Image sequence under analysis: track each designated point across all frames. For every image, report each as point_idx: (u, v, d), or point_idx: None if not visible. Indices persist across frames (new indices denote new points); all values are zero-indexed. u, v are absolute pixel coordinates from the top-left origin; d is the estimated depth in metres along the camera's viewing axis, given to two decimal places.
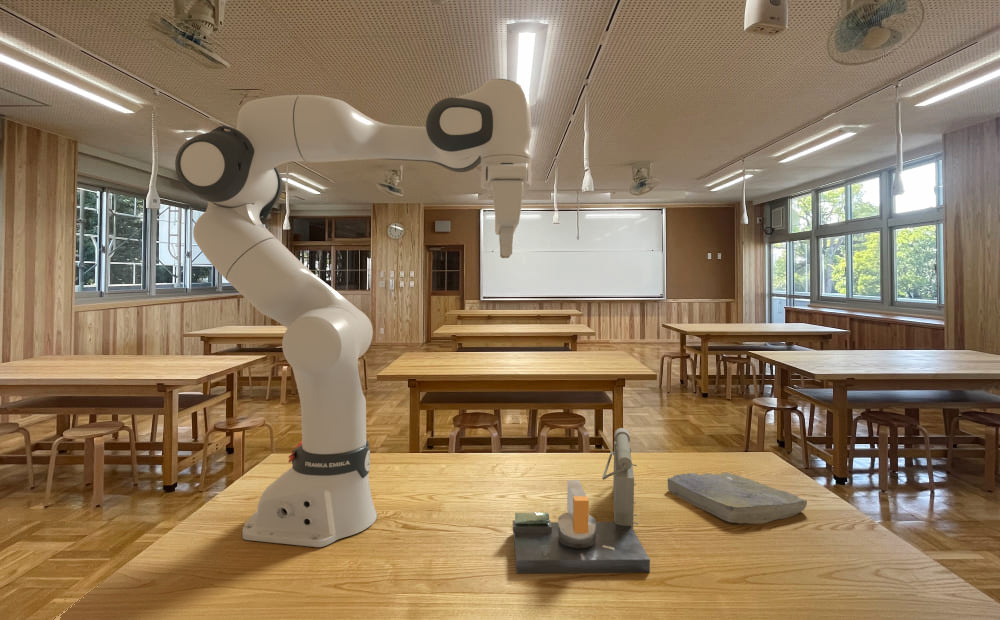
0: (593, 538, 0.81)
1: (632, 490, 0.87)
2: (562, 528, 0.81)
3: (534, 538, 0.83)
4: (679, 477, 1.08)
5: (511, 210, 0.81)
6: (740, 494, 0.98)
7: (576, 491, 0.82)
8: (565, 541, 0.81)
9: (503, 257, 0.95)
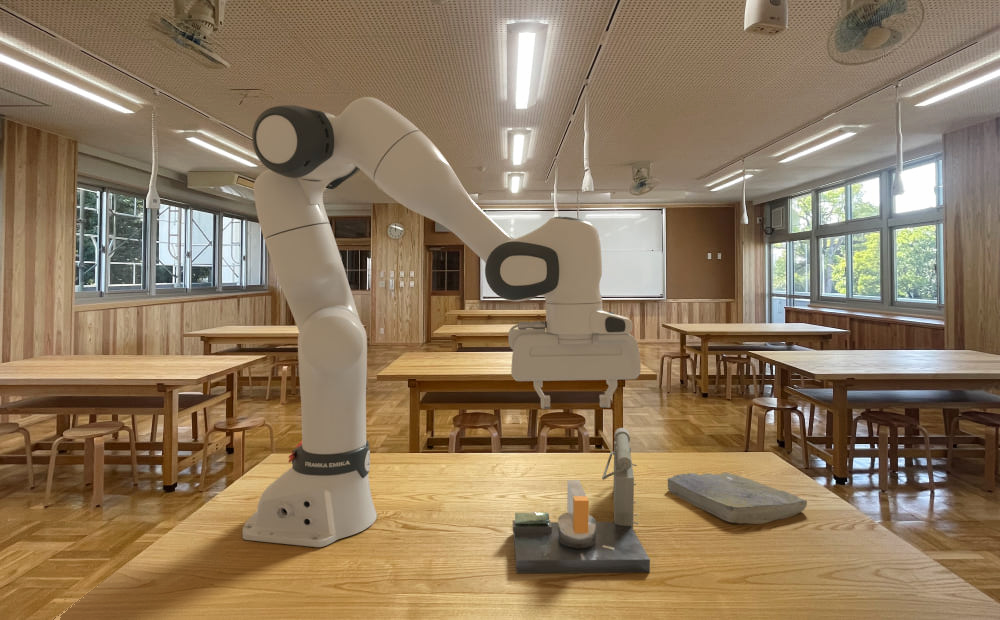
0: (593, 538, 0.81)
1: (632, 490, 0.87)
2: (562, 528, 0.81)
3: (534, 538, 0.83)
4: (679, 477, 1.08)
5: None
6: (740, 494, 0.98)
7: (576, 491, 0.82)
8: (565, 541, 0.81)
9: None
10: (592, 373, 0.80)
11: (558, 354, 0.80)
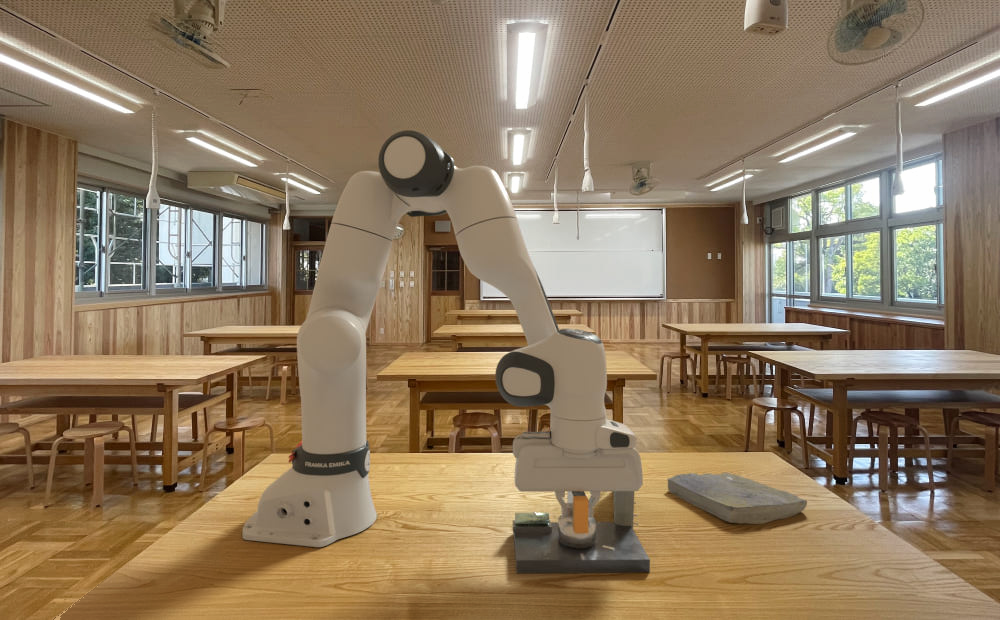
0: (593, 538, 0.81)
1: None
2: (562, 528, 0.81)
3: (534, 538, 0.83)
4: (679, 477, 1.08)
5: None
6: (740, 494, 0.98)
7: (576, 491, 0.82)
8: (565, 541, 0.81)
9: None
10: (595, 485, 0.81)
11: (562, 465, 0.81)
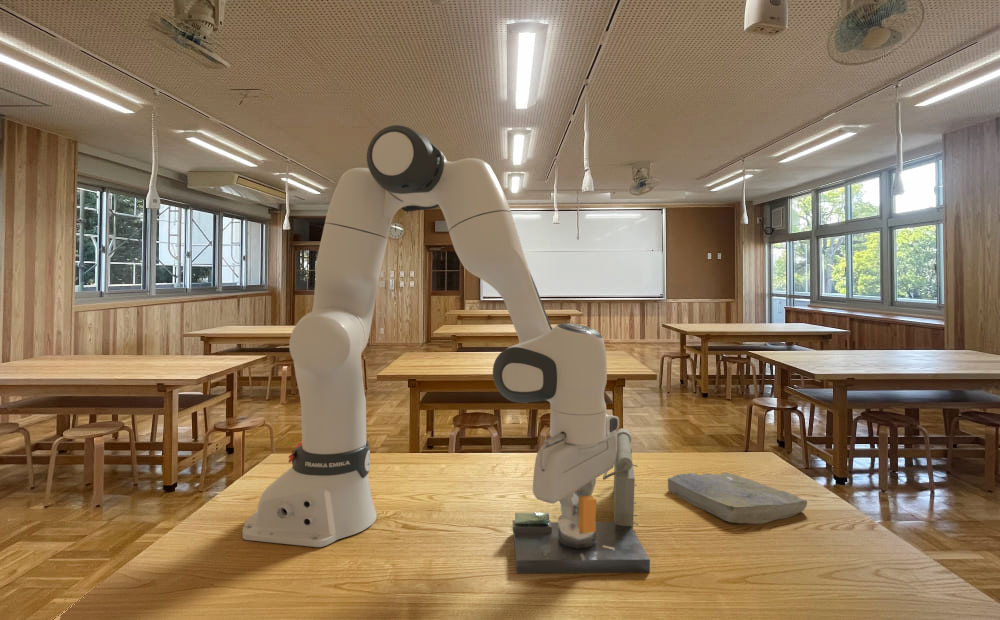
0: (595, 535, 0.82)
1: (632, 490, 0.87)
2: (567, 530, 0.80)
3: (534, 538, 0.83)
4: (679, 477, 1.08)
5: None
6: (740, 494, 0.98)
7: (577, 491, 0.82)
8: (570, 543, 0.80)
9: None
10: (595, 473, 0.83)
11: (577, 463, 0.79)
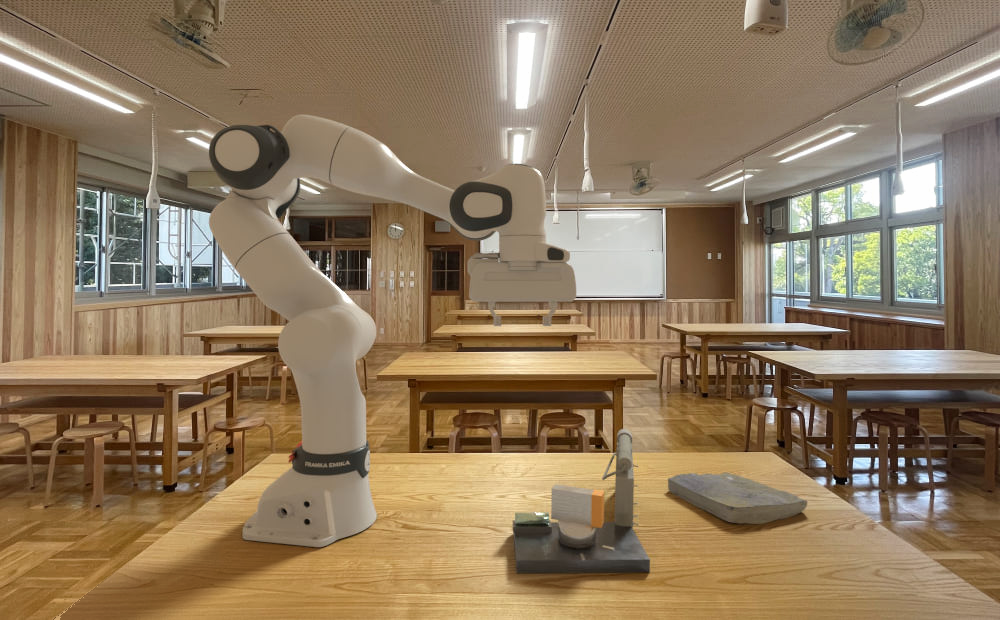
0: None
1: (632, 491, 0.87)
2: (583, 531, 0.80)
3: (534, 538, 0.83)
4: (679, 477, 1.08)
5: None
6: (740, 494, 0.98)
7: (579, 491, 0.82)
8: (587, 543, 0.80)
9: None
10: (536, 295, 0.96)
11: (508, 279, 0.96)
